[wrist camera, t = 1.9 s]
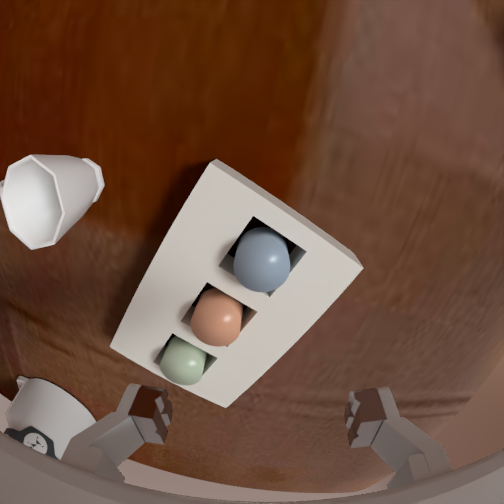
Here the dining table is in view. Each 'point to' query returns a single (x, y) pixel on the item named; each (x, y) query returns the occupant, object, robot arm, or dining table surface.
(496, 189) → the dining table surface
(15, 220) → the cup
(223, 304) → the terracotta button
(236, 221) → the button panel
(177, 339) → the sage button
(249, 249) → the slate button
